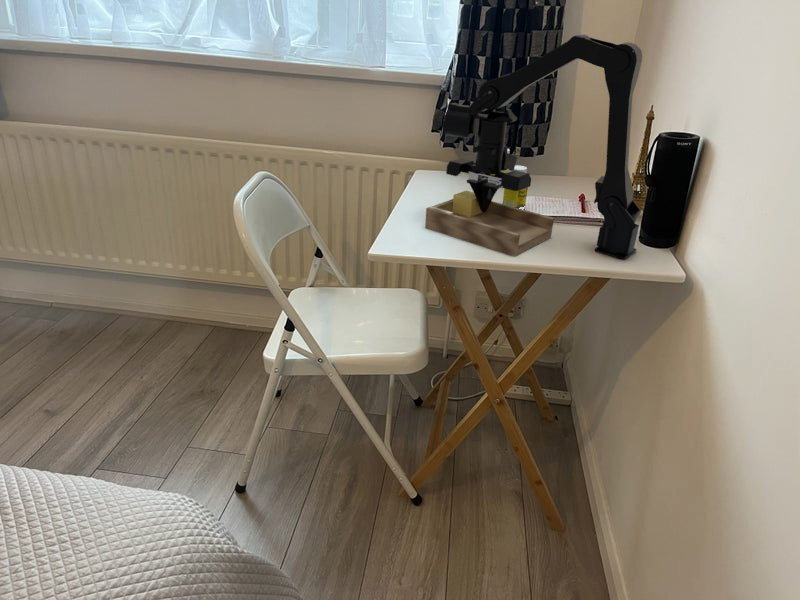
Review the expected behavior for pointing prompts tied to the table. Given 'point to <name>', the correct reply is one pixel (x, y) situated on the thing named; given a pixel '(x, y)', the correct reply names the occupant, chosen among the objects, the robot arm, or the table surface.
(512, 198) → the supplement bottle
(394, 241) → the table surface
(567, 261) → the table surface
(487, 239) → the wooden tray
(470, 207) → the block
